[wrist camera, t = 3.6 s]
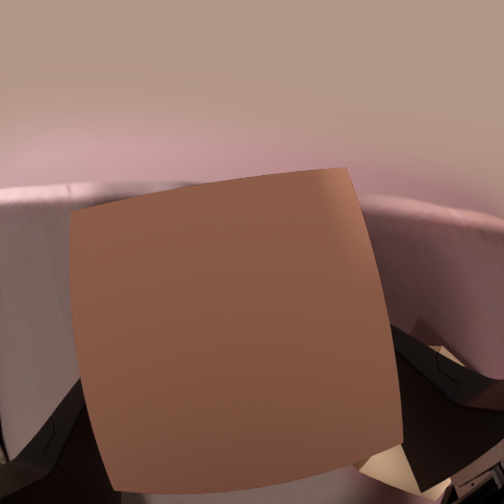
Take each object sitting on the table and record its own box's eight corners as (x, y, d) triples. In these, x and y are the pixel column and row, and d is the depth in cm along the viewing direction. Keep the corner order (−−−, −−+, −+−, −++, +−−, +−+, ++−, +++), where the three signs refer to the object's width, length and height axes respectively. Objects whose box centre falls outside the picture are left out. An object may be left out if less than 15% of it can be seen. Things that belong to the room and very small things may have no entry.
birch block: (417, 489, 15) (435, 501, 12) (343, 455, 16) (358, 471, 13) (478, 396, 17) (499, 399, 14) (419, 345, 18) (442, 345, 15)
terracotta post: (286, 366, 17) (403, 442, 4) (201, 380, 17) (113, 490, 3) (270, 284, 19) (346, 167, 5) (187, 297, 18) (71, 212, 5)
